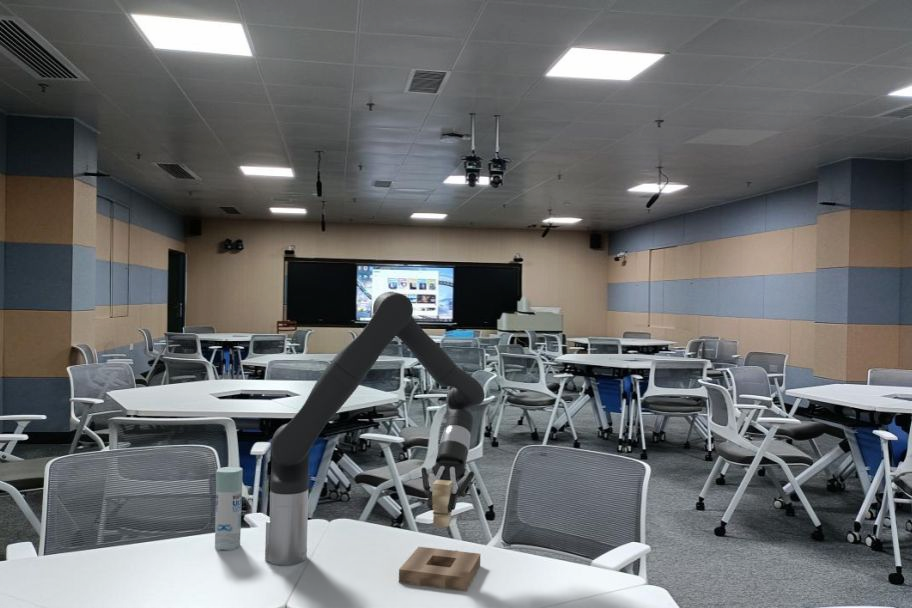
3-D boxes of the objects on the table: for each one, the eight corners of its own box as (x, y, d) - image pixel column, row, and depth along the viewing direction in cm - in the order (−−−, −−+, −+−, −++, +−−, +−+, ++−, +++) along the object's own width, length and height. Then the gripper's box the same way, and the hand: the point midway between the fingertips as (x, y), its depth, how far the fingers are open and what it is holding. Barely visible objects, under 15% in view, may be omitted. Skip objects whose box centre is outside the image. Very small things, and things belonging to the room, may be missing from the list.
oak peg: (431, 525, 152) (432, 483, 152) (436, 520, 156) (437, 479, 156) (448, 527, 151) (448, 485, 151) (452, 522, 155) (453, 480, 155)
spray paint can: (235, 551, 165) (237, 472, 165) (210, 550, 165) (212, 472, 165) (244, 542, 171) (246, 466, 171) (219, 541, 171) (221, 466, 171)
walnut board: (398, 582, 148) (399, 569, 148) (418, 558, 163) (418, 546, 163) (466, 591, 144) (466, 577, 144) (480, 565, 159) (480, 553, 159)
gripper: (424, 437, 163) (408, 498, 151) (479, 441, 159) (467, 504, 147) (429, 453, 168) (414, 514, 156) (483, 458, 164) (471, 520, 152)
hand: (440, 509), depth 152 cm, fingers closed on oak peg, 4 cm apart
